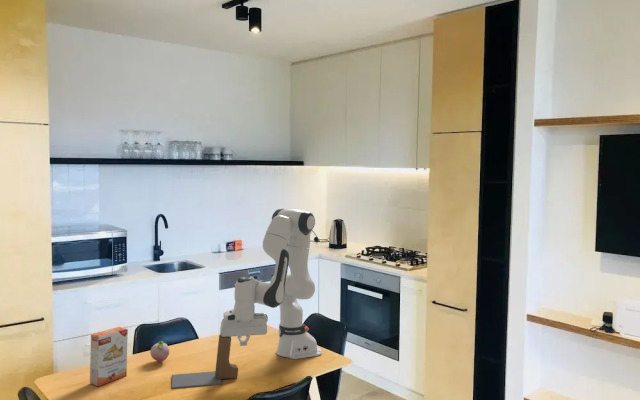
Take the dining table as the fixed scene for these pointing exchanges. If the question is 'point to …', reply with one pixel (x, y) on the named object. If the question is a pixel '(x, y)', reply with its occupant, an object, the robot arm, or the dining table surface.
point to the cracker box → (108, 356)
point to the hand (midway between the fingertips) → (243, 345)
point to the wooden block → (225, 360)
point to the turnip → (160, 351)
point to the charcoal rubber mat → (195, 380)
